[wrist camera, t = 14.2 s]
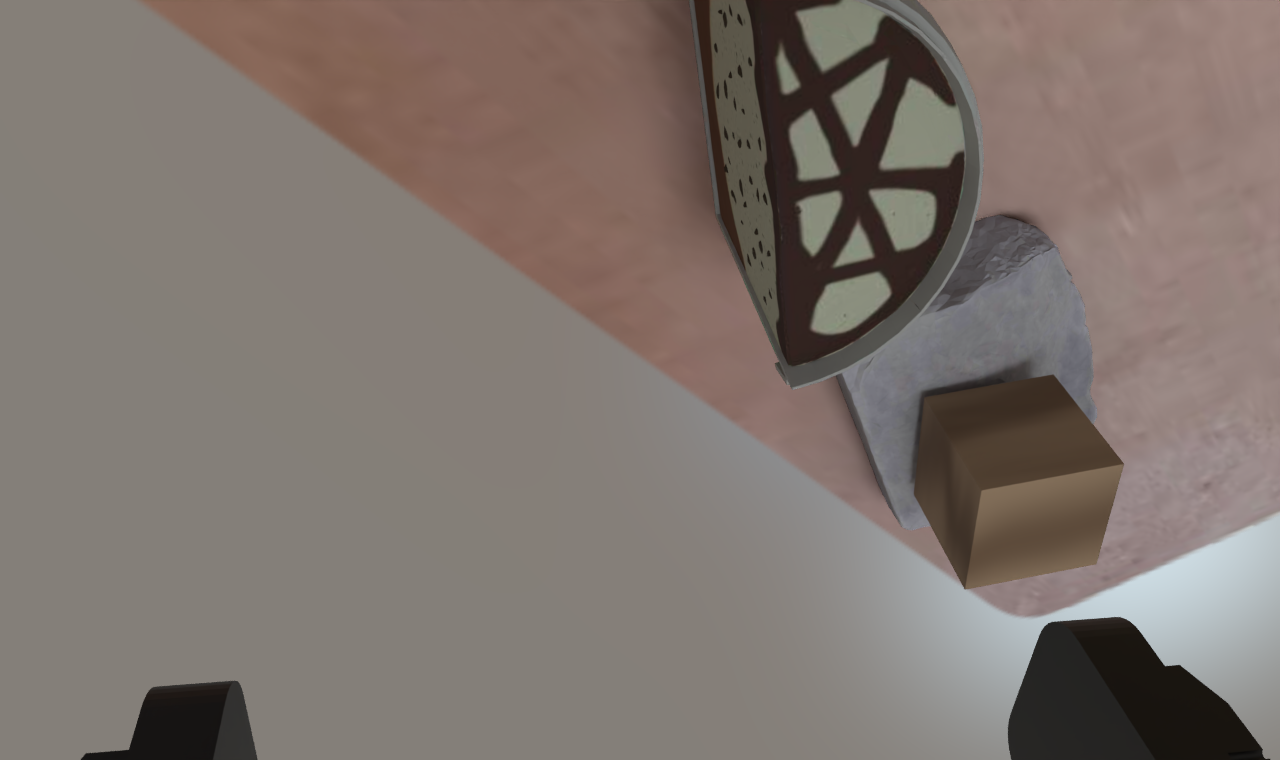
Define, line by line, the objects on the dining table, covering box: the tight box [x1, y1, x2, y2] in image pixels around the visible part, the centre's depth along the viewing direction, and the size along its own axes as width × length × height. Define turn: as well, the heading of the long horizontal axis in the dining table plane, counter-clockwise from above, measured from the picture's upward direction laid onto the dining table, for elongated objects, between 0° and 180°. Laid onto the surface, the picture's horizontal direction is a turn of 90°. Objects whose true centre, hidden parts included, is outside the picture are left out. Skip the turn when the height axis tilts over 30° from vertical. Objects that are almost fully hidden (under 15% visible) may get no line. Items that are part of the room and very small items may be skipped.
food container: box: [689, 0, 984, 390], centre depth 32 cm, size 12×6×10 cm, turn 9°
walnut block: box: [914, 374, 1124, 589], centre depth 39 cm, size 5×5×5 cm
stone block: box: [836, 215, 1097, 530], centre depth 43 cm, size 12×5×10 cm
